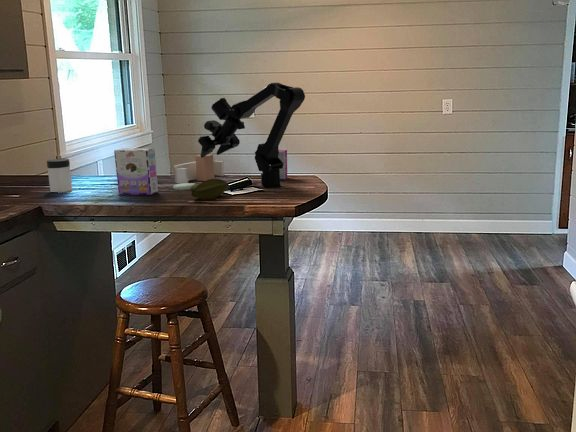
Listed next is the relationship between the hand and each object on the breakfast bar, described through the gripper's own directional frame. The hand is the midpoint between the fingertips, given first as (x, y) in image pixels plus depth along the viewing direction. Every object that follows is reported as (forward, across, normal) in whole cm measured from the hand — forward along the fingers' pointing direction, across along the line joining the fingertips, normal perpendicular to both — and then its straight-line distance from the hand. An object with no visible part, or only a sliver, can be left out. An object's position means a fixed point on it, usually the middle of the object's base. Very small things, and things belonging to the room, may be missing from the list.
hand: (209, 155), depth 251 cm
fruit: (-11, +27, +25) cm, 39 cm away
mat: (+5, +17, +9) cm, 20 cm away
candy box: (+11, +33, +4) cm, 35 cm away
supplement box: (-10, -14, +24) cm, 30 cm away
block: (+9, 0, +5) cm, 10 cm away
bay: (+11, 0, +3) cm, 12 cm away
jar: (+34, +44, -19) cm, 59 cm away
